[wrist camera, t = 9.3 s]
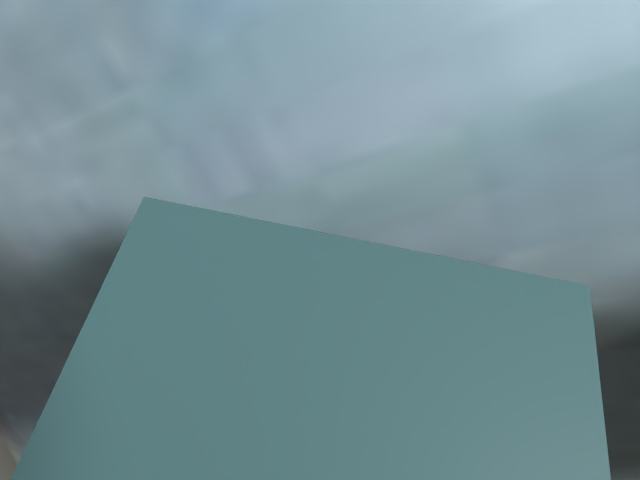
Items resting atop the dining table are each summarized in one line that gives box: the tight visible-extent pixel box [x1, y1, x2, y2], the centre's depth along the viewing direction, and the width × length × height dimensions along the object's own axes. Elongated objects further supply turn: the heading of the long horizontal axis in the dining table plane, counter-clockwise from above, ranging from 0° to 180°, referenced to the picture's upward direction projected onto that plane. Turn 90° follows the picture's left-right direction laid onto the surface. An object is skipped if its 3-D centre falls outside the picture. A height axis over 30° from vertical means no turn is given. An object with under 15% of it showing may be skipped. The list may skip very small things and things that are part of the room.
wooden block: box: [10, 197, 611, 480], centre depth 9 cm, size 4×4×13 cm
